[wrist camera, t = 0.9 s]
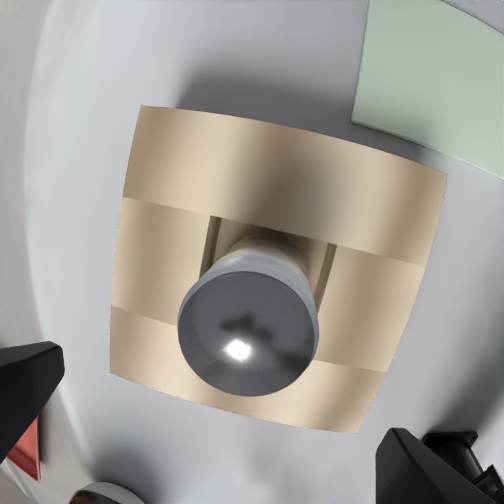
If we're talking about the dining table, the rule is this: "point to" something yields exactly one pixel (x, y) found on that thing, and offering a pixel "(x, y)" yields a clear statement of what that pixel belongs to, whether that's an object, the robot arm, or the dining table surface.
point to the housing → (279, 222)
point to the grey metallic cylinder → (251, 318)
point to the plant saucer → (27, 452)
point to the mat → (433, 80)
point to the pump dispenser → (104, 495)
